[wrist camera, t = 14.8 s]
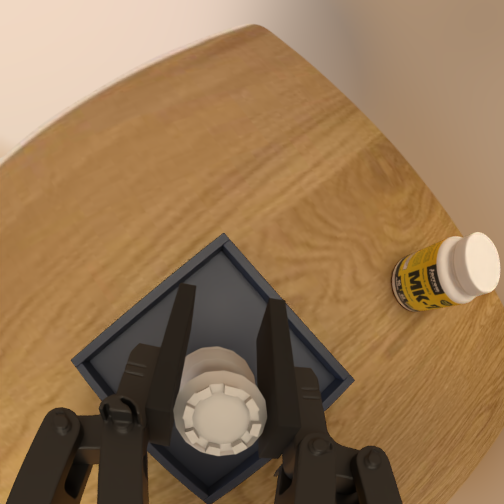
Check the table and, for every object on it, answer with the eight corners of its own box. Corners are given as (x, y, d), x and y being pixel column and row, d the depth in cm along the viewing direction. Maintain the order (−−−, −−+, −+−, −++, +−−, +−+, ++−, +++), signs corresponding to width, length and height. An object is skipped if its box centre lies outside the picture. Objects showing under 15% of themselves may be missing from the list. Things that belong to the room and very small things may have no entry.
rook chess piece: (263, 407, 17) (306, 454, 9) (189, 429, 16) (181, 493, 8) (239, 336, 17) (267, 336, 10) (163, 357, 17) (133, 375, 9)
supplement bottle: (380, 280, 24) (450, 253, 15) (411, 245, 25) (478, 211, 17) (412, 324, 23) (487, 314, 15) (440, 287, 24) (510, 267, 16)
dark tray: (342, 376, 21) (355, 380, 19) (208, 492, 18) (208, 505, 16) (222, 241, 22) (223, 232, 20) (81, 358, 19) (70, 360, 17)
